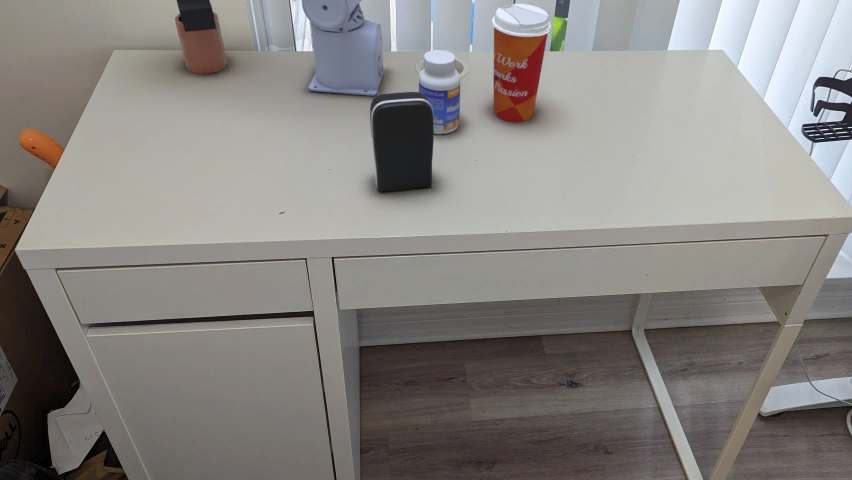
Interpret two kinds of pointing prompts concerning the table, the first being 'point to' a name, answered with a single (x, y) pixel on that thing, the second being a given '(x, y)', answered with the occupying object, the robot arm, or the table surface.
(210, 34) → the terracotta cup
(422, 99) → the battery charger
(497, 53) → the paper cup
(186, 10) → the black block
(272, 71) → the table surface
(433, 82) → the pill bottle
